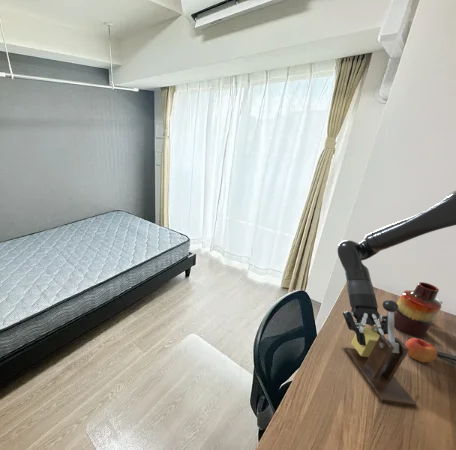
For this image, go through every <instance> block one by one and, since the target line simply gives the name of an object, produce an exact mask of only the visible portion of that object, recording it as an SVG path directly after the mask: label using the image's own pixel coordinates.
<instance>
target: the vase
mask: <svg viewBox="0 0 456 450" xmlns="http://www.w3.org/2000/svg"><path fill="white" fill-rule="evenodd" d="M414 288H415V289H411V290H410V289H409V290H408V289H407V290H406V289H405V290H404V291H403V292H402V293H401V295H400V296H399V298H398V300H397V302H396V303H397V304H398V306H399V309H398V310H397V311H396V312H394V329H396V330H398V331H399V332H401V333H403V334H405V335H408V336H410V337H414V338H423V337H425V335H426V334H427V332H428V330H430V327H431V326H432V324H433V322H434V321H435V319H436V318H437V316H438V314H439V312H440V311H441V309H442V304H440V303H439V302H438V301H437V300H436V299H435V298H436V297H437V296H438V294H439V292H440V289H439V288H438V287H437V286H435V285H433V284H430V283H428V282H423V281H421V282H418V283H417V285H416V286H415V287H414Z"/></svg>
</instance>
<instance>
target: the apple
mask: <svg viewBox="0 0 456 450" xmlns="http://www.w3.org/2000/svg"><path fill="white" fill-rule="evenodd" d="M405 346H406V347H407V348H408V349H409V351H408V352H407V355H408V356H409V357H410V358H411V359H413V360H415V361H418V362H421V363H431V362H433V361H434V360H436V359H437V357H438V350H437V348H435V346H434V345H433V344H431V343H430V342H427V341H425V340H423V339H421V338H418V337H412V338H409V339H408V340H407V341H406V342H405Z"/></svg>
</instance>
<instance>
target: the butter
mask: <svg viewBox="0 0 456 450" xmlns="http://www.w3.org/2000/svg"><path fill="white" fill-rule="evenodd" d="M363 333H364V337H365V342H366V345H360V344H359V343H358V341H357V337H356V333H355V334H354V335H353V338H352V340H351V342H350V344H351V345H352V346H353V348H354V349H356V350H357V351H358V353H359V354H360V355H361V356H364V357H369V356H370V354H371V352H372V350H373V348H374V346H375V344H376V342H377V340H378V339H379V337H380V335H379V334H378V333H377V332H376V331H375V330H374V329H372V328H371V327H370V328H368V327H364V330H363Z"/></svg>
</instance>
